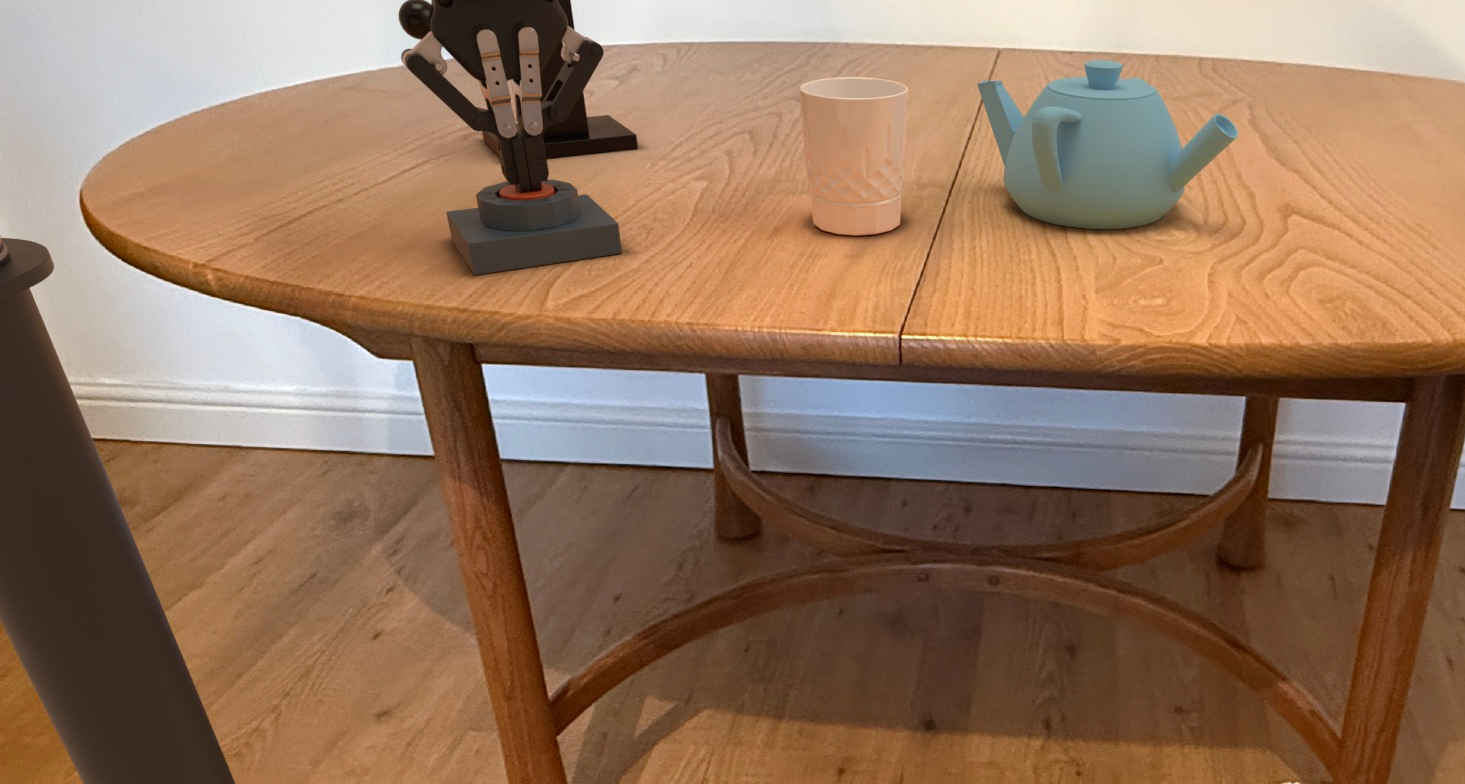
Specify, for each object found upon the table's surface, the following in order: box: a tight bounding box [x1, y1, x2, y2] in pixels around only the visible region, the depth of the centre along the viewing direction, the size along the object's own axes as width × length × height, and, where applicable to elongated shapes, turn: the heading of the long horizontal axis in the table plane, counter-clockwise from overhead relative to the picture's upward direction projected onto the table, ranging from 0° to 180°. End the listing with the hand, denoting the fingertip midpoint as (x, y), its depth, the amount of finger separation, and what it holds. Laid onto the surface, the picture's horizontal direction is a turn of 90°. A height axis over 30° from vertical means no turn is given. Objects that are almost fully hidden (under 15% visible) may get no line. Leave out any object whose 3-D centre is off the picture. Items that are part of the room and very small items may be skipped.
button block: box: [446, 179, 623, 276], centre depth 80 cm, size 10×8×4 cm
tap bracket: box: [481, 0, 639, 159], centre depth 103 cm, size 12×9×13 cm
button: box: [499, 183, 555, 200], centre depth 80 cm, size 4×4×2 cm
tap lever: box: [398, 0, 431, 41], centre depth 98 cm, size 13×3×3 cm, turn 121°
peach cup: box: [799, 76, 909, 236], centre depth 85 cm, size 8×8×10 cm
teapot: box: [977, 59, 1239, 230], centre depth 90 cm, size 15×17×11 cm
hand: (527, 188), depth 79 cm, fingers closed
